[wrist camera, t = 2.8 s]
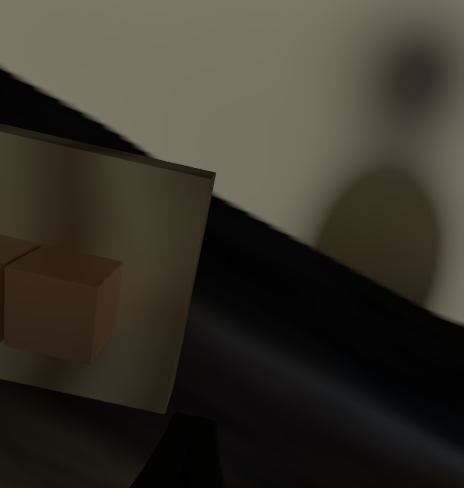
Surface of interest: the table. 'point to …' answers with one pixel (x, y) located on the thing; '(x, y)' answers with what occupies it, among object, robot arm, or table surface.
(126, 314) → the olive square panel
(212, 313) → the table surface
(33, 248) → the brown block
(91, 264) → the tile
